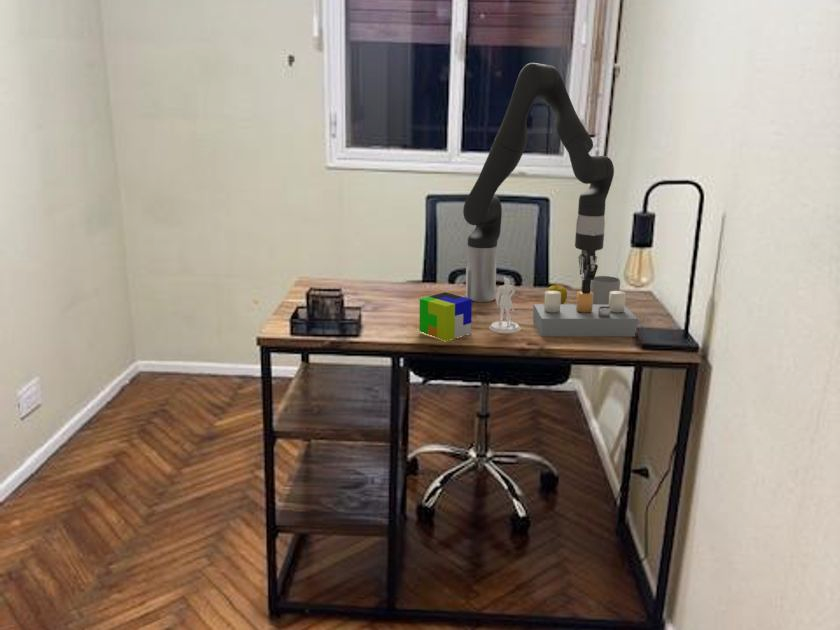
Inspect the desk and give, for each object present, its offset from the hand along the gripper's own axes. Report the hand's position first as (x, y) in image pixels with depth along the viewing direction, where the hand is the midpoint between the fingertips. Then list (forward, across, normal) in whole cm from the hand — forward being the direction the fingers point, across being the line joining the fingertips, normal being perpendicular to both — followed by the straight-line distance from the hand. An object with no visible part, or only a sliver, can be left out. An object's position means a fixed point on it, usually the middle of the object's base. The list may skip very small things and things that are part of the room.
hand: (585, 292), depth 210 cm
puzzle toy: (+11, +5, -39) cm, 41 cm away
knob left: (+9, 0, -9) cm, 13 cm away
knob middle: (+9, 0, 0) cm, 9 cm away
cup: (+11, -17, +10) cm, 22 cm away
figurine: (+11, 0, -22) cm, 25 cm away
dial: (+5, +4, +4) cm, 8 cm away
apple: (+11, -20, -4) cm, 23 cm away
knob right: (+9, 0, +9) cm, 13 cm away
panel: (+10, 0, 0) cm, 10 cm away
